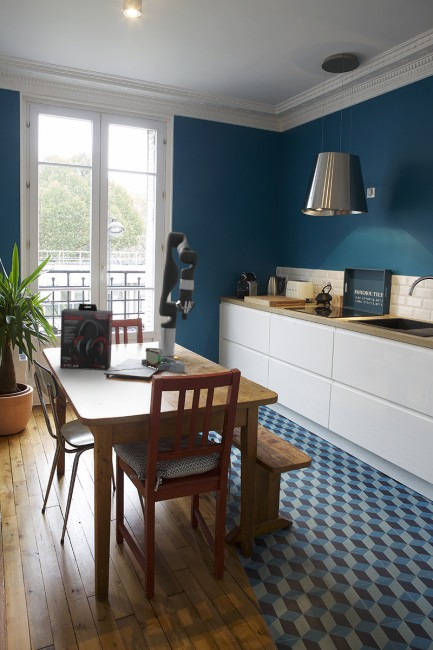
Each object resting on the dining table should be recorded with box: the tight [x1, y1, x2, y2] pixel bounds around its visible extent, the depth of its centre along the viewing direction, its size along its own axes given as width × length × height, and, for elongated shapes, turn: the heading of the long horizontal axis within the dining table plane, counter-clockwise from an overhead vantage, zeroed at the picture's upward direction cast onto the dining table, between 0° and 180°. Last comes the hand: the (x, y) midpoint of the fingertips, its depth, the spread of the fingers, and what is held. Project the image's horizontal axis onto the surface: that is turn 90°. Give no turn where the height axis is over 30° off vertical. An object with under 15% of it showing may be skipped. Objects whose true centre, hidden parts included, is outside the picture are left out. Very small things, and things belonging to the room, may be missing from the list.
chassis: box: [141, 356, 186, 374], centre depth 275 cm, size 24×16×4 cm
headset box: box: [59, 303, 114, 371], centre depth 260 cm, size 25×12×33 cm, turn 95°
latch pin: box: [172, 355, 182, 365], centre depth 268 cm, size 4×4×6 cm
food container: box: [145, 347, 164, 370], centre depth 273 cm, size 12×6×10 cm, turn 44°
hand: (184, 320), depth 274 cm, fingers closed
